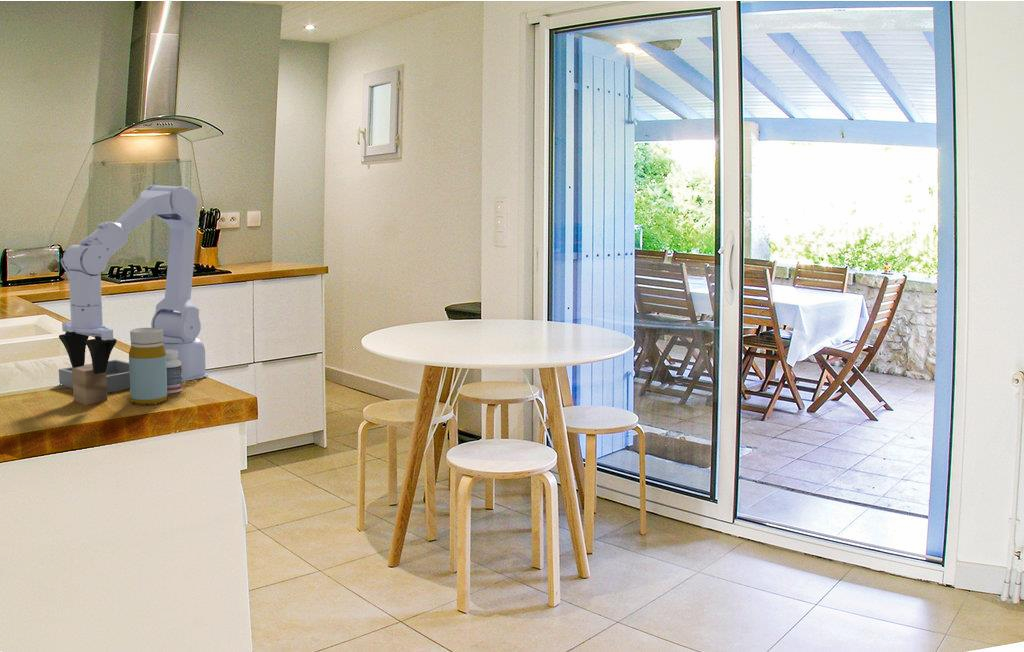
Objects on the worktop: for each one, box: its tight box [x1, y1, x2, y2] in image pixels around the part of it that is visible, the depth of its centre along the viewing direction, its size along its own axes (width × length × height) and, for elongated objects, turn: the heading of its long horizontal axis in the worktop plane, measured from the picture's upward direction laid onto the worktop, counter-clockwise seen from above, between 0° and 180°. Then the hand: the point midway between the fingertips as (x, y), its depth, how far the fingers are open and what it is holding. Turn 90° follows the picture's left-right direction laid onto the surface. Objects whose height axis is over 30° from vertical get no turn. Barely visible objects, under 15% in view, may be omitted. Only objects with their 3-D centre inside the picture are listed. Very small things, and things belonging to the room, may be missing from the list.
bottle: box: [128, 327, 168, 406], centre depth 172 cm, size 7×7×15 cm
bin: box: [58, 359, 130, 394], centre depth 185 cm, size 14×14×4 cm
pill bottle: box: [165, 349, 183, 394], centre depth 181 cm, size 5×5×9 cm
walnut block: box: [72, 364, 108, 406], centre depth 171 cm, size 4×4×7 cm
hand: (88, 370), depth 171 cm, fingers open, 7 cm apart
